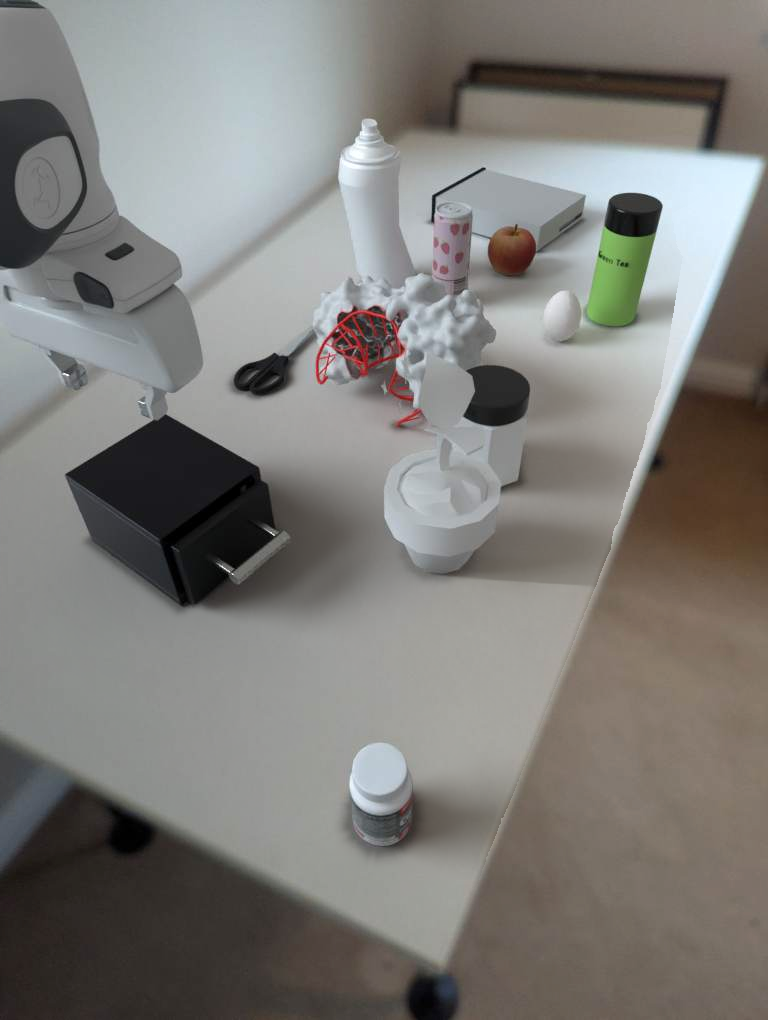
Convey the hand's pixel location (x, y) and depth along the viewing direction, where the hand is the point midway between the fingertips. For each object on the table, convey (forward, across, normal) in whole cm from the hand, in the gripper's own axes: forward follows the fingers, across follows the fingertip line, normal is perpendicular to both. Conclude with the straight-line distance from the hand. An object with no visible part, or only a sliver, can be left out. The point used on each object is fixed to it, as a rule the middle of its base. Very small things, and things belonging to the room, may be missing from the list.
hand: (115, 399), depth 65 cm
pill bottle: (+20, +35, -14) cm, 42 cm away
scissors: (+20, -10, +38) cm, 44 cm away
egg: (+20, +23, +60) cm, 68 cm away
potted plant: (+20, +26, +13) cm, 36 cm away
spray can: (+20, -8, +63) cm, 66 cm away
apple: (+20, +9, +77) cm, 80 cm away
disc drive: (+20, 0, +96) cm, 98 cm away
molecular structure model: (+20, +9, +36) cm, 43 cm away
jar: (+20, +25, +29) cm, 43 cm away
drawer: (+19, +5, +2) cm, 20 cm away
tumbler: (+20, +28, +71) cm, 79 cm away
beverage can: (+20, +4, +63) cm, 66 cm away
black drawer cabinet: (+20, 0, +2) cm, 20 cm away
